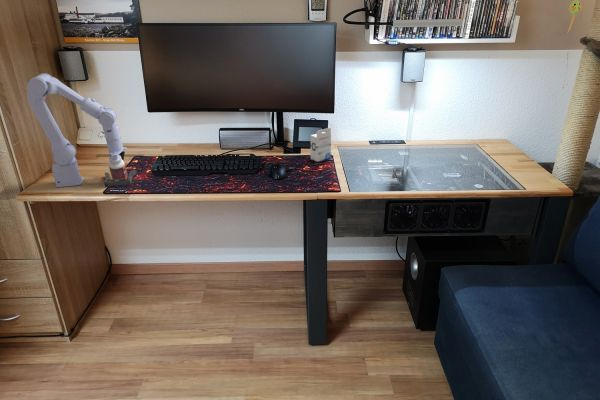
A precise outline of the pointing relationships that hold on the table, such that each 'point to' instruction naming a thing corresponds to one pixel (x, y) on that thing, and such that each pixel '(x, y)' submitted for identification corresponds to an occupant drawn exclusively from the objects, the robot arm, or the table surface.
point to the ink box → (321, 145)
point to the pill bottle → (117, 168)
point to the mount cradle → (118, 182)
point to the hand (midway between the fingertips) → (121, 169)
